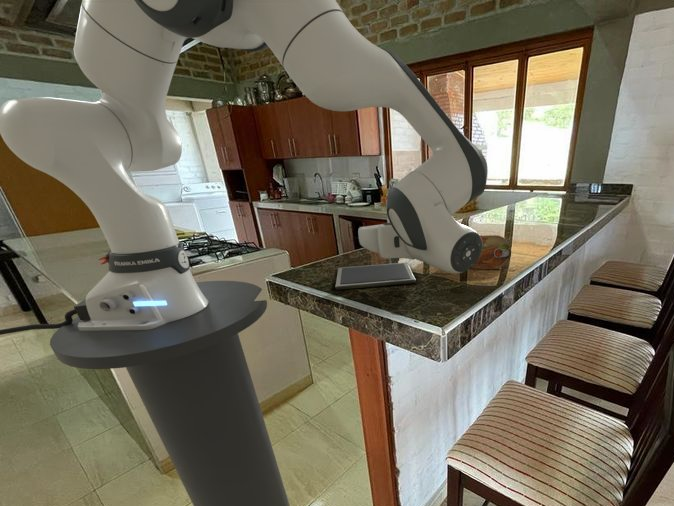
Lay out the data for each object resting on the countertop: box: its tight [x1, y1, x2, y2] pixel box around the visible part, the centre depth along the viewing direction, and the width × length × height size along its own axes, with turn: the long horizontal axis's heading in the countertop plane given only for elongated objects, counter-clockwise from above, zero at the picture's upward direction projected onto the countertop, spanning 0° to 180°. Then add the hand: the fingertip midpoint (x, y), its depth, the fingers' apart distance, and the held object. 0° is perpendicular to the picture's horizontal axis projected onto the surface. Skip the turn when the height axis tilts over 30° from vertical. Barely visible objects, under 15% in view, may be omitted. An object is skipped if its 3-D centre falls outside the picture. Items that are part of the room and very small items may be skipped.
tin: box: [469, 234, 512, 270], centre depth 84 cm, size 15×3×8 cm, turn 76°
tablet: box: [334, 262, 417, 291], centre depth 82 cm, size 18×14×1 cm
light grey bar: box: [385, 199, 400, 263], centre depth 78 cm, size 2×2×14 cm
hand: (390, 226), depth 78 cm, fingers closed on light grey bar, 2 cm apart
